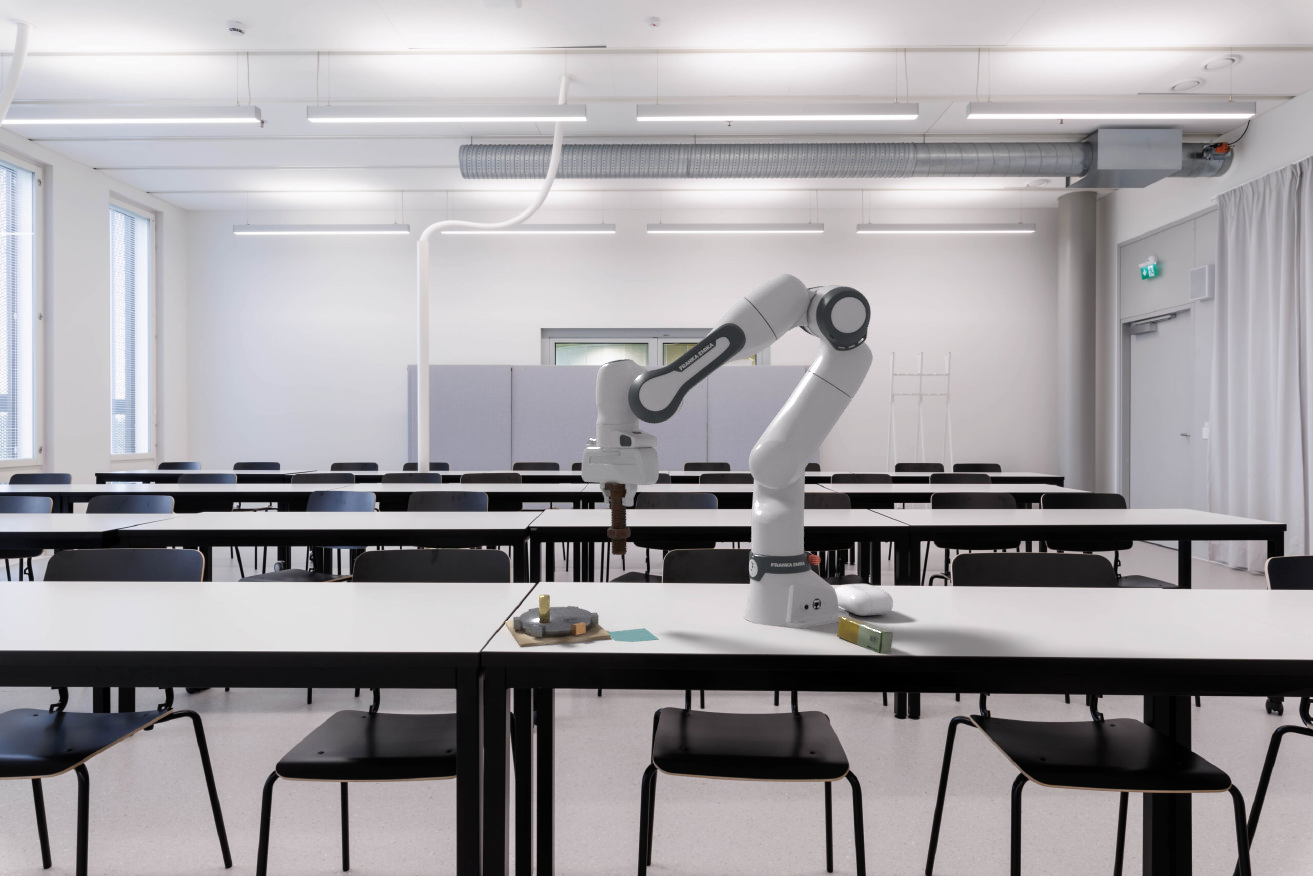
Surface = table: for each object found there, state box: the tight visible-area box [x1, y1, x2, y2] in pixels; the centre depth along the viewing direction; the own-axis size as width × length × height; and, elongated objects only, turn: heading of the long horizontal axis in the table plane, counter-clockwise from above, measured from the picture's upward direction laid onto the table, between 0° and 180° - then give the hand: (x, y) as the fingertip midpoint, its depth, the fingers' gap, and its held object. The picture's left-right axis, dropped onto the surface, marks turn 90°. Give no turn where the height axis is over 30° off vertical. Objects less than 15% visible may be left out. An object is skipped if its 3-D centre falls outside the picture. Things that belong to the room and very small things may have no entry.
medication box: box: [836, 616, 894, 655], centre depth 136 cm, size 12×3×4 cm, turn 26°
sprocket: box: [512, 594, 599, 637], centre depth 144 cm, size 16×15×7 cm
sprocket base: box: [504, 619, 611, 648], centre depth 144 cm, size 17×17×1 cm
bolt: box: [605, 482, 632, 556], centre depth 152 cm, size 6×5×15 cm
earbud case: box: [834, 583, 894, 617], centre depth 161 cm, size 10×13×5 cm
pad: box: [607, 627, 659, 643], centre depth 141 cm, size 8×8×1 cm
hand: (618, 505), depth 152 cm, fingers closed on bolt, 4 cm apart
